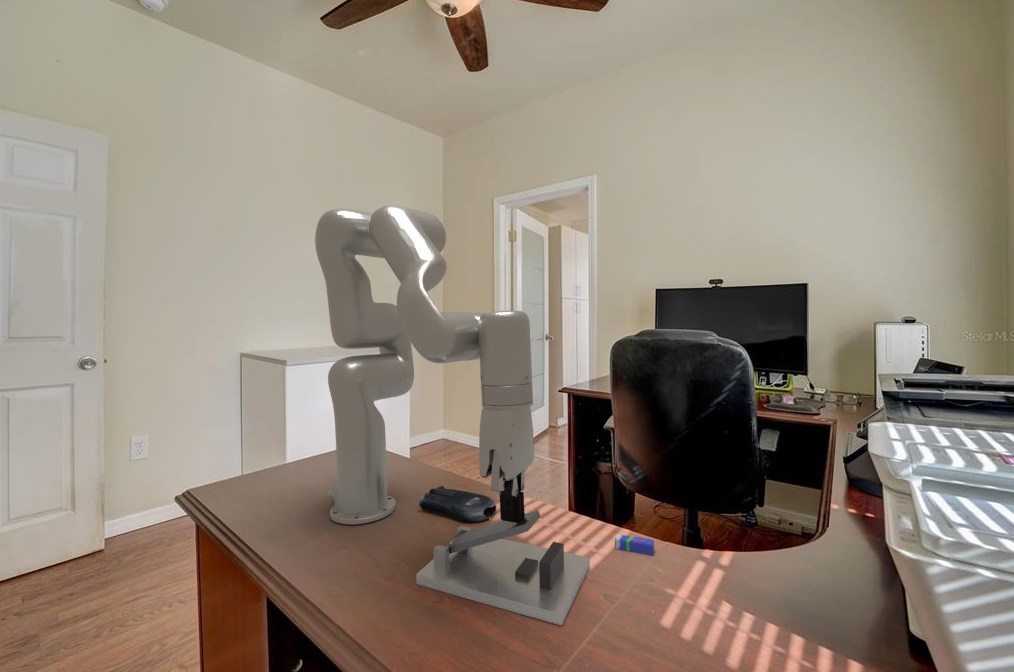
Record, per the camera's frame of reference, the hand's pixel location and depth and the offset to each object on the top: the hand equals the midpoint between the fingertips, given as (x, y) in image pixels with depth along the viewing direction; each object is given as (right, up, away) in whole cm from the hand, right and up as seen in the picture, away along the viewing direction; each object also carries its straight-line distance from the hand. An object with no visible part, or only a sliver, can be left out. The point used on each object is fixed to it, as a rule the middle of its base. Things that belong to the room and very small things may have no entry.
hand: (512, 519), depth 64 cm
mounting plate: (-1, -9, +1) cm, 9 cm away
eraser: (+20, -9, +8) cm, 23 cm away
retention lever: (-3, -4, +2) cm, 5 cm away
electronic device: (-10, -9, +24) cm, 28 cm away
